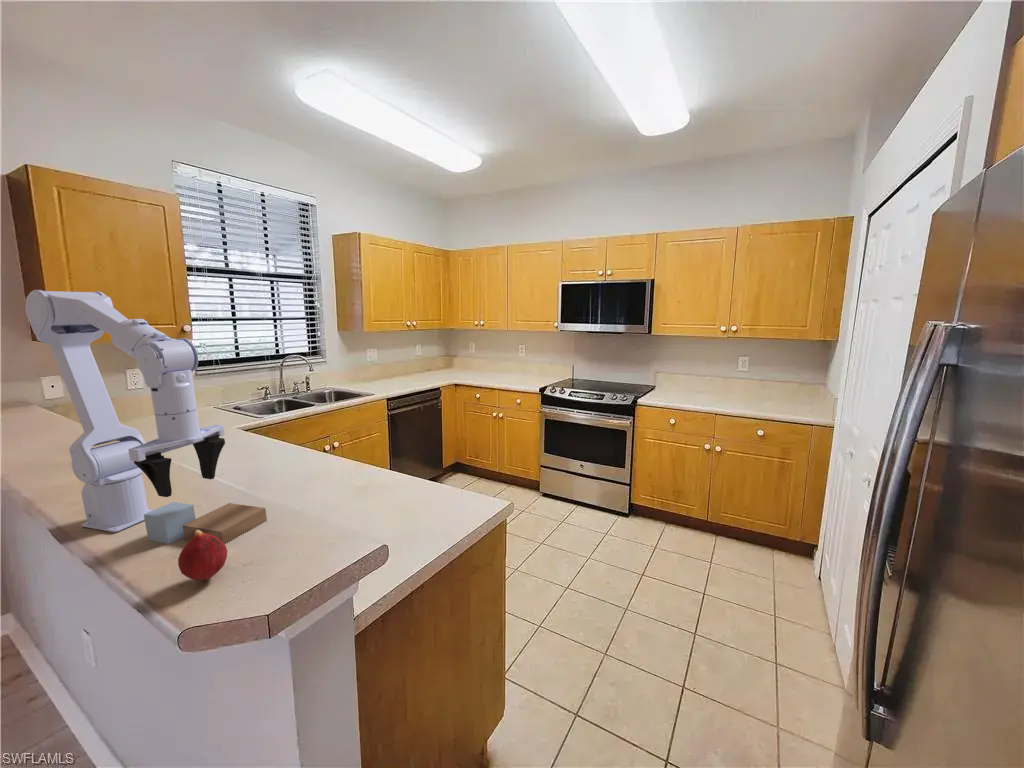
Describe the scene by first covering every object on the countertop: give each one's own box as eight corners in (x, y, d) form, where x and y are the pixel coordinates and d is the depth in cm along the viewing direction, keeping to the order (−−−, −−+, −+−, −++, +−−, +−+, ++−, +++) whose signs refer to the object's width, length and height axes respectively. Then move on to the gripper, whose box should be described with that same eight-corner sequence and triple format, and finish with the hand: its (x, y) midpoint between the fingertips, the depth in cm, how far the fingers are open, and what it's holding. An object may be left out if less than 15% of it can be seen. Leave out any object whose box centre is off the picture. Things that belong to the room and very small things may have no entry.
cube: (148, 540, 75) (143, 514, 74) (177, 526, 80) (173, 501, 79) (168, 544, 74) (164, 517, 73) (197, 530, 78) (193, 504, 77)
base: (185, 540, 75) (182, 525, 75) (231, 517, 84) (229, 503, 83) (223, 547, 73) (221, 531, 72) (267, 522, 81) (265, 508, 81)
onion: (238, 567, 66) (231, 520, 65) (214, 591, 60) (205, 540, 59) (200, 569, 66) (192, 521, 65) (172, 593, 60) (163, 541, 59)
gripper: (146, 423, 64) (160, 507, 66) (233, 403, 78) (242, 473, 80) (113, 420, 66) (128, 502, 68) (204, 401, 79) (213, 469, 82)
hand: (188, 486), depth 74 cm, fingers open, 7 cm apart
